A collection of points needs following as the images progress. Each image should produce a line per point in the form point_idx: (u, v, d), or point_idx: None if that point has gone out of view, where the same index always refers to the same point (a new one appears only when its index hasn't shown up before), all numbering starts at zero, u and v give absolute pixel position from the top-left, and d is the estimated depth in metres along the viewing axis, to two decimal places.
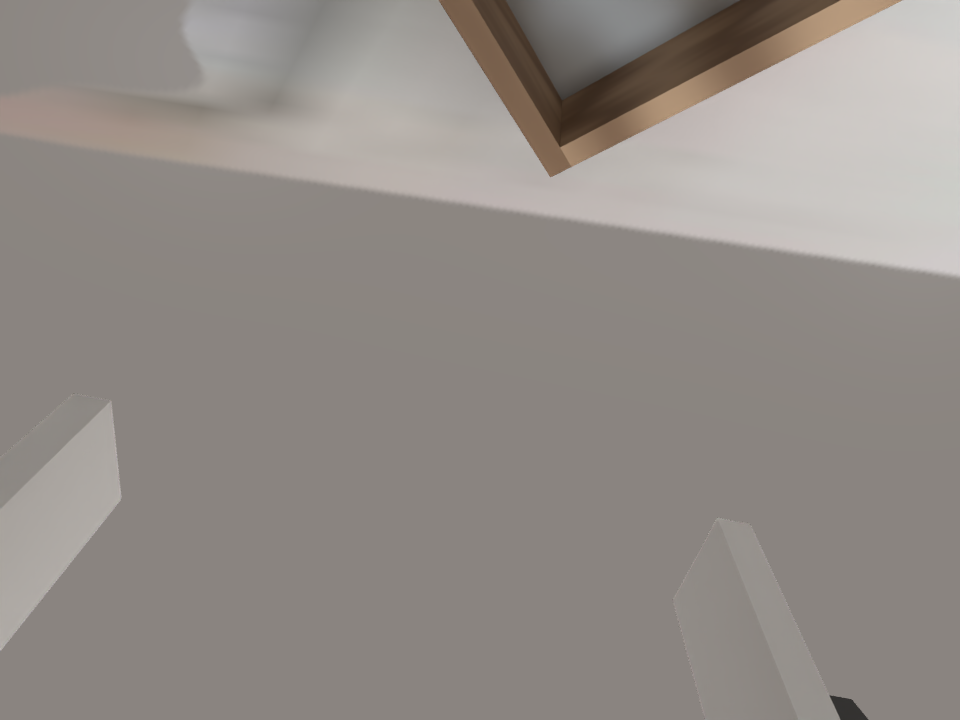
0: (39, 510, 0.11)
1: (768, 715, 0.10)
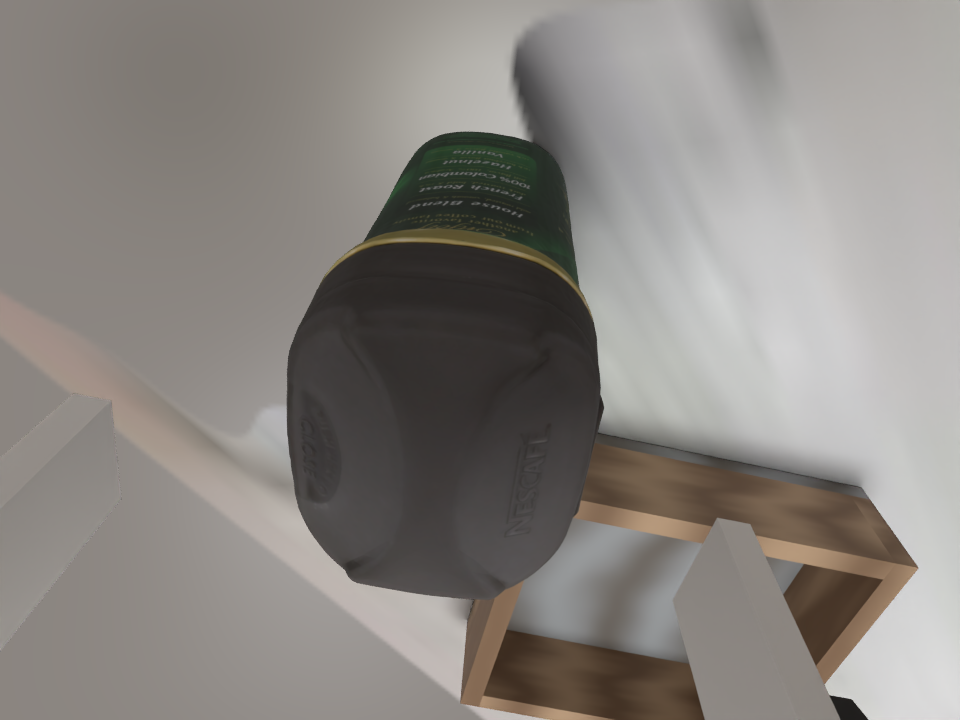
0: (39, 510, 0.11)
1: (768, 715, 0.10)
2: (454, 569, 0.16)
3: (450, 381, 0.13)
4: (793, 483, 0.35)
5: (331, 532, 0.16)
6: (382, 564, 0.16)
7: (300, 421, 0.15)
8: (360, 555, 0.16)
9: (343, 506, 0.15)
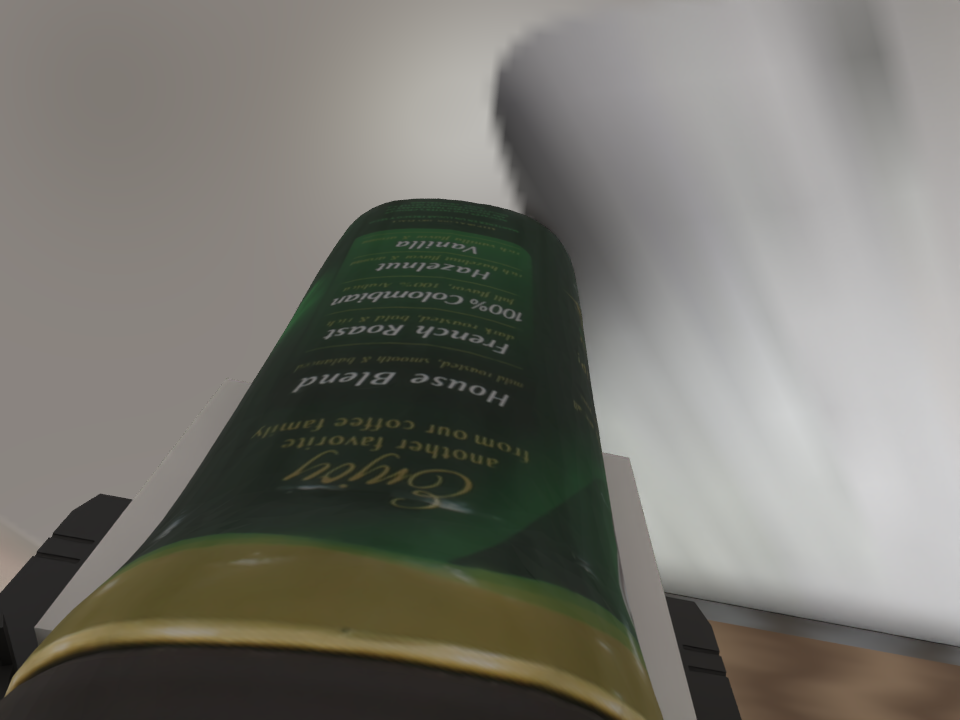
0: None
1: None
2: None
3: None
4: (879, 649, 0.26)
5: None
6: None
7: None
8: None
9: None
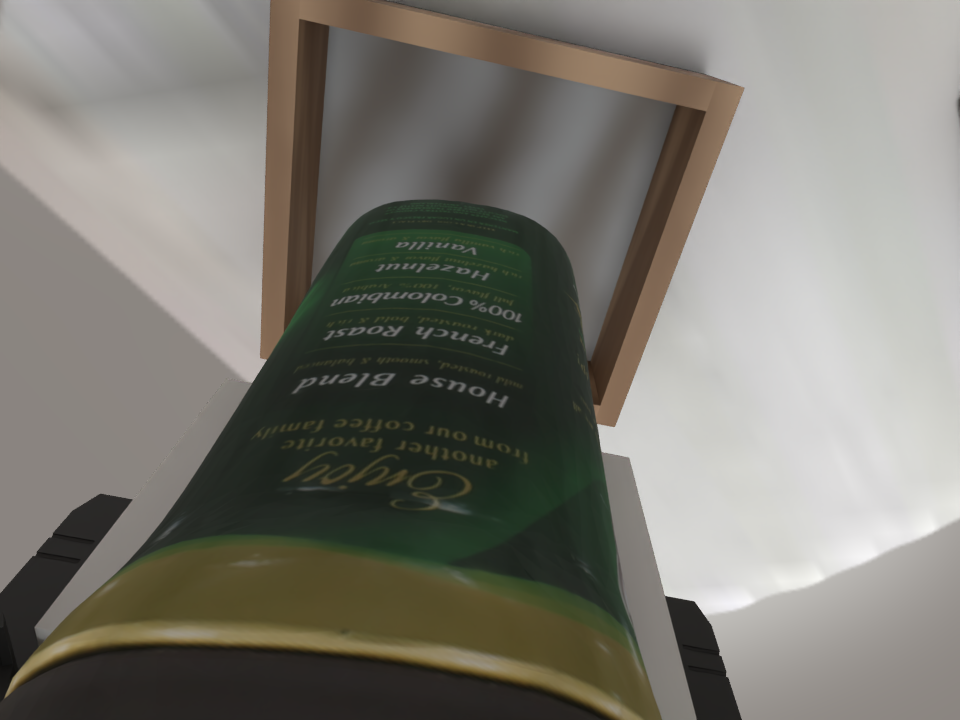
0: None
1: None
2: None
3: None
4: (620, 55, 0.30)
5: None
6: None
7: None
8: None
9: None
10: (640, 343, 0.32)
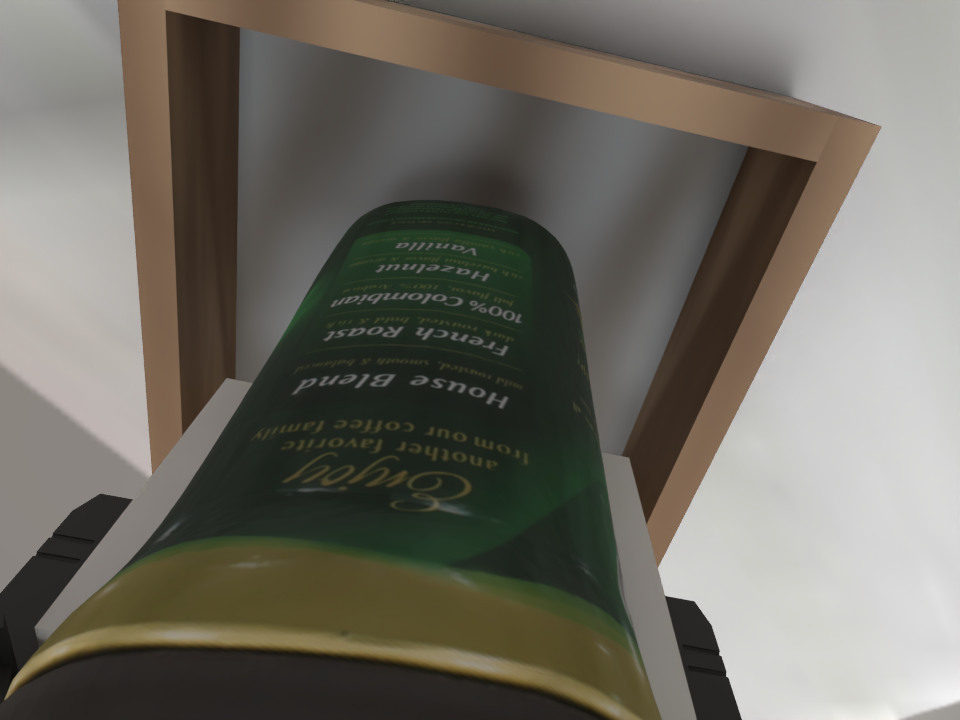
0: None
1: None
2: None
3: None
4: (672, 69, 0.21)
5: None
6: None
7: None
8: None
9: None
10: (692, 482, 0.23)
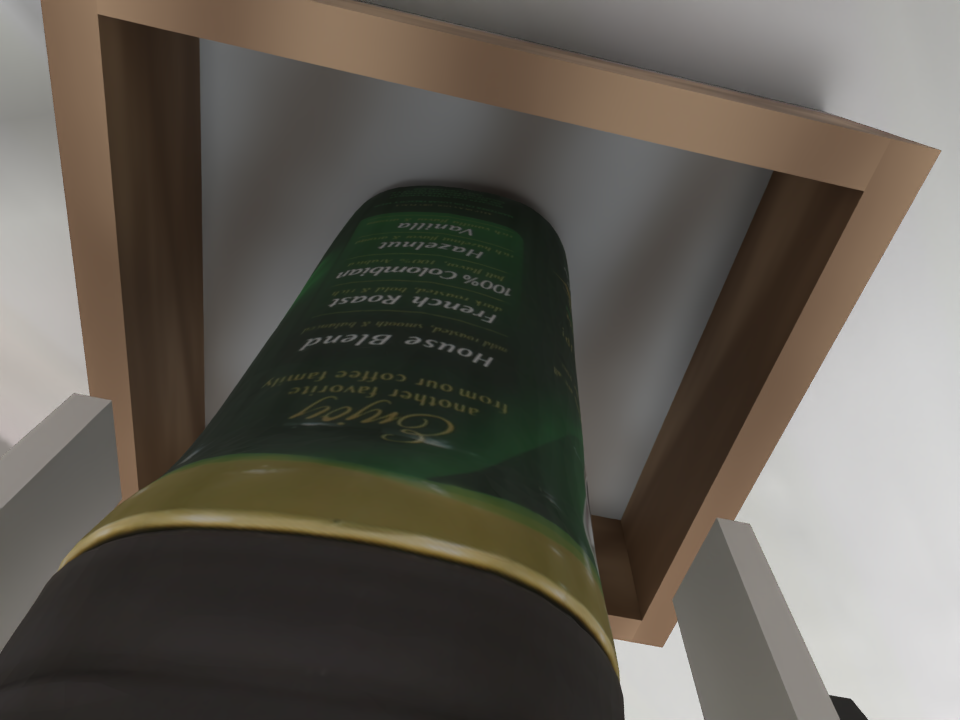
0: (39, 510, 0.11)
1: (767, 715, 0.10)
2: None
3: None
4: (690, 80, 0.18)
5: None
6: None
7: None
8: None
9: None
10: None
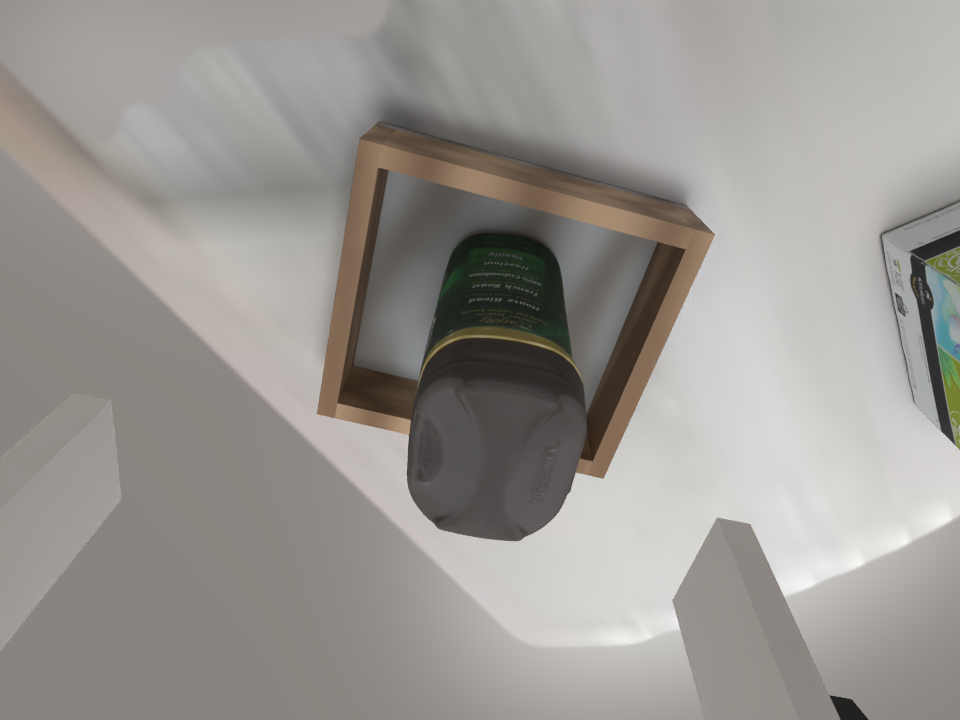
0: (39, 510, 0.11)
1: (768, 715, 0.10)
2: (500, 521, 0.28)
3: (511, 418, 0.25)
4: (621, 190, 0.39)
5: (428, 499, 0.28)
6: (459, 517, 0.28)
7: (420, 435, 0.27)
8: (445, 513, 0.28)
9: (439, 484, 0.27)
10: (627, 415, 0.41)
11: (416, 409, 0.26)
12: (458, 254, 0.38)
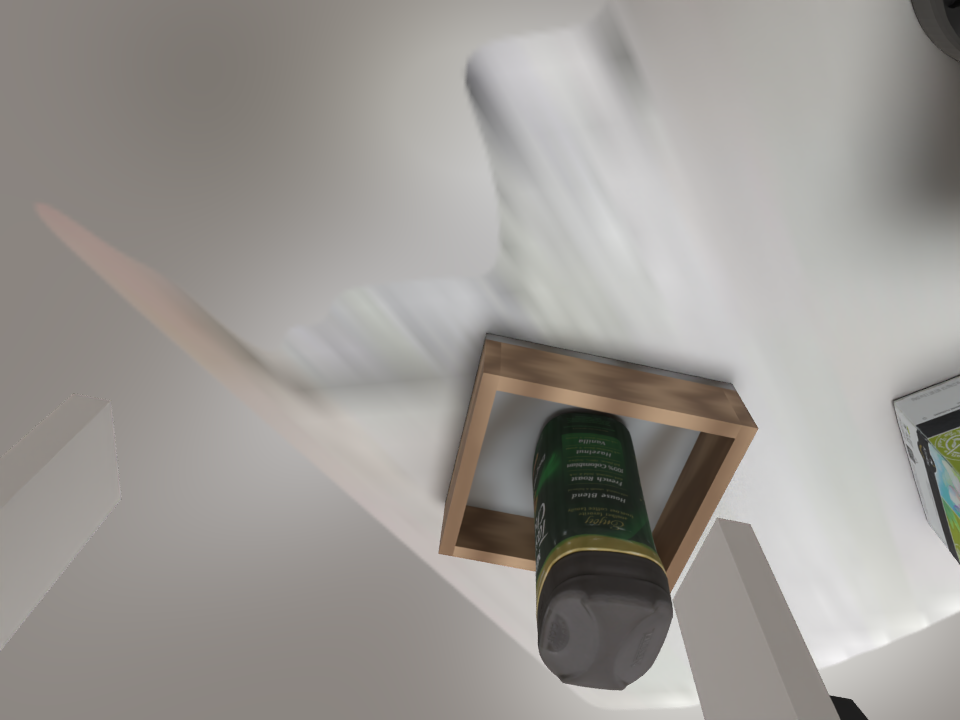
0: (39, 510, 0.11)
1: (768, 715, 0.10)
2: (610, 680, 0.38)
3: (621, 619, 0.35)
4: (679, 378, 0.48)
5: (555, 663, 0.38)
6: (579, 677, 0.38)
7: (552, 623, 0.37)
8: (568, 673, 0.38)
9: (565, 654, 0.38)
10: (688, 551, 0.50)
11: (549, 606, 0.37)
12: (552, 436, 0.48)
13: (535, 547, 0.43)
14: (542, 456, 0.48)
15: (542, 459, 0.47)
